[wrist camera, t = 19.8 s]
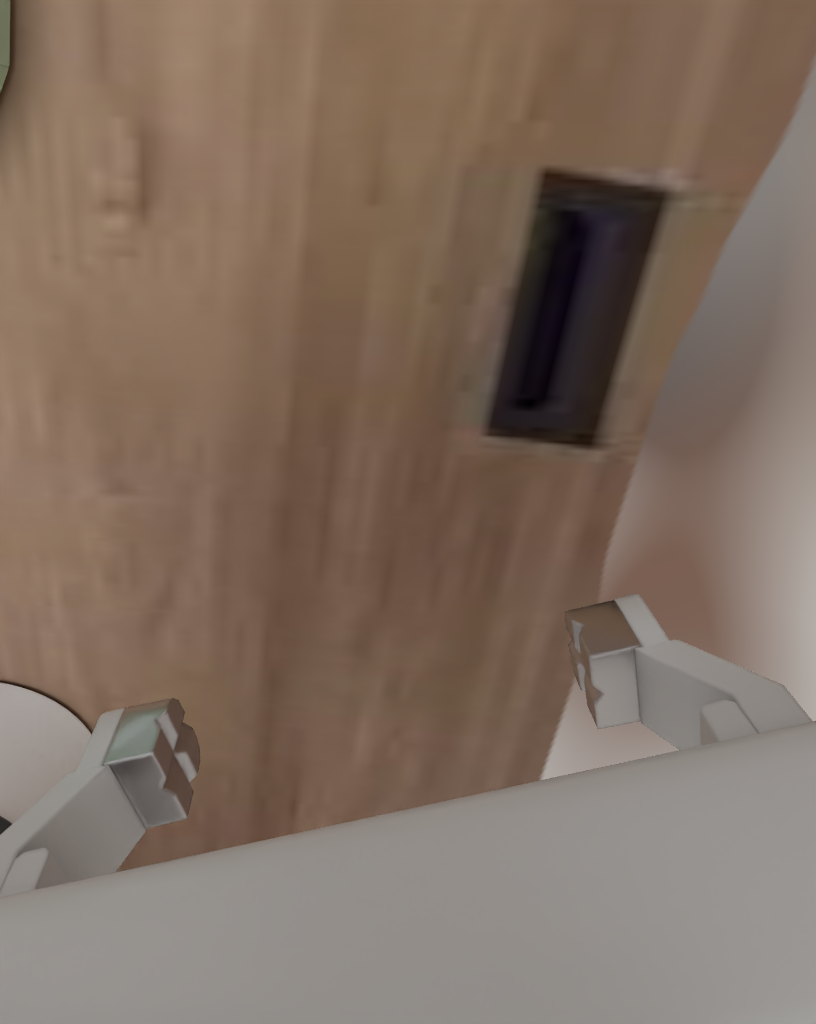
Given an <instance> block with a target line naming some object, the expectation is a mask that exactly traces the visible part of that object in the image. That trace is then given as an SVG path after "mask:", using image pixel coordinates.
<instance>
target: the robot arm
mask: <svg viewBox="0 0 816 1024" xmlns="http://www.w3.org/2000/svg"><path fill="white" fill-rule="evenodd" d="M565 624H566V629H567V631H568V633H569V635H570V638H571V641H570V643H569V645H568V646H569V652H570V658H571V662H572V666H573V670H574V674H575V676H576V679H577V682H578V684H579V686H580V689H581V690H582V691H584V692H586V698H587V705H588V708H589V710H590V712H591V714H592V717H593V719H594V721H595V723H596V726H597V728H598V729H601V728H607V727H612V726H618V725H623V724H628V723H633V722H639V721H641V723H642V724H643V725H645V726H646V727H648V728H649V729H651V730H652V731H653V732H655V733H656V734H658V735H659V736H660V737H662V738H663V739H665V740H666V741H668V742H669V743H671V744H672V745H673V746H675V747H676V748H678V749H679V751H675V752H670V753H665V754H661V755H656V756H652V757H647V758H643V759H638V760H633V761H629V762H624V763H619V764H615V765H610V766H606V767H601V768H597V769H592V770H587V771H583V772H578V773H573V774H568V775H564V776H559V777H555V778H550V779H545V780H541V781H536V782H531V783H527V784H522V785H518V786H513V787H508V788H504V789H499V790H494V791H490V792H485V793H481V794H476V795H471V796H467V797H462V798H457V799H453V800H448V801H444V802H439V803H434V804H430V805H425V806H420V807H416V808H411V809H407V810H402V811H397V812H393V813H388V814H384V815H379V816H374V817H370V818H365V819H360V820H356V821H351V822H346V823H342V824H337V825H333V826H328V827H323V828H319V829H314V830H309V831H305V832H300V833H296V834H291V835H286V836H282V837H277V838H272V839H268V840H263V841H258V842H254V843H249V844H245V845H240V846H235V847H231V848H226V849H221V850H217V851H212V852H208V853H203V854H198V855H194V856H189V857H184V858H180V859H175V860H170V861H166V862H161V863H157V864H152V865H147V866H143V867H138V868H133V869H129V870H124V871H120V872H116V871H117V869H118V868H119V867H120V865H121V864H122V863H123V861H124V860H125V859H126V857H127V856H128V855H129V853H130V852H131V851H132V849H133V848H134V847H135V845H136V844H137V843H138V841H139V840H140V839H141V837H142V836H143V835H144V833H145V832H146V829H147V828H151V827H155V826H159V825H164V824H168V823H172V822H176V821H180V820H184V819H187V817H188V813H189V808H190V804H191V800H192V796H193V790H192V788H191V785H190V782H191V781H192V779H193V778H194V777H195V776H196V775H197V774H198V770H199V765H200V748H199V744H198V740H197V737H196V734H195V732H194V730H193V728H192V727H190V726H188V725H186V724H185V723H183V722H182V721H183V717H184V713H185V711H184V710H183V708H182V706H181V704H180V702H179V700H177V699H174V698H172V699H167V700H162V701H157V702H151V703H146V704H141V705H136V706H131V707H128V708H123V709H118V710H113V711H108V712H105V713H103V714H102V715H101V716H100V717H99V719H98V721H97V723H96V726H95V728H94V730H93V732H92V735H91V733H90V732H89V730H88V729H87V728H86V726H85V725H84V724H83V723H82V722H81V721H80V720H79V719H78V718H77V717H76V716H75V715H73V714H72V713H71V712H70V711H68V710H67V709H66V708H64V707H63V706H61V705H60V704H58V703H57V702H55V701H53V700H51V699H49V698H47V697H45V696H43V695H41V694H39V693H36V692H34V691H31V690H28V689H25V688H22V687H18V686H14V685H10V684H5V683H0V1024H816V721H814V722H813V721H812V720H811V719H810V717H809V716H808V715H807V714H806V712H805V711H804V710H803V709H802V708H801V706H800V705H799V704H798V703H797V701H796V700H795V699H794V698H793V696H792V695H791V694H790V693H789V692H788V690H787V689H786V688H785V686H784V685H782V684H779V683H777V682H775V681H772V680H770V679H768V678H766V677H763V676H761V675H758V674H756V673H754V672H752V671H749V670H747V669H745V668H742V667H740V666H738V665H735V664H733V663H731V662H728V661H726V660H724V659H721V658H719V657H717V656H714V655H712V654H710V653H707V652H705V651H703V650H700V649H698V648H696V647H694V646H691V645H689V644H686V643H684V642H682V641H680V640H677V639H676V640H671V641H670V640H669V639H668V637H667V636H666V634H665V633H664V631H663V629H662V628H661V627H660V625H659V623H658V622H657V620H656V619H655V617H654V616H653V614H652V613H651V611H650V610H649V608H648V607H647V605H646V604H645V602H644V601H643V600H642V598H641V596H640V595H638V594H633V595H629V596H625V597H621V598H617V599H613V600H612V601H608V602H604V603H599V604H595V605H590V606H586V607H581V608H577V609H573V610H568V611H565Z"/></svg>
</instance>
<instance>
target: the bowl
mask: <svg viewBox="0 0 816 1024" xmlns="http://www.w3.org/2000/svg"><path fill="white" fill-rule="evenodd" d="M9 65H10V0H0V92H1V90H2V87H3V84H4V81H5V78H6V75H7V72H8V69H9Z"/></svg>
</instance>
